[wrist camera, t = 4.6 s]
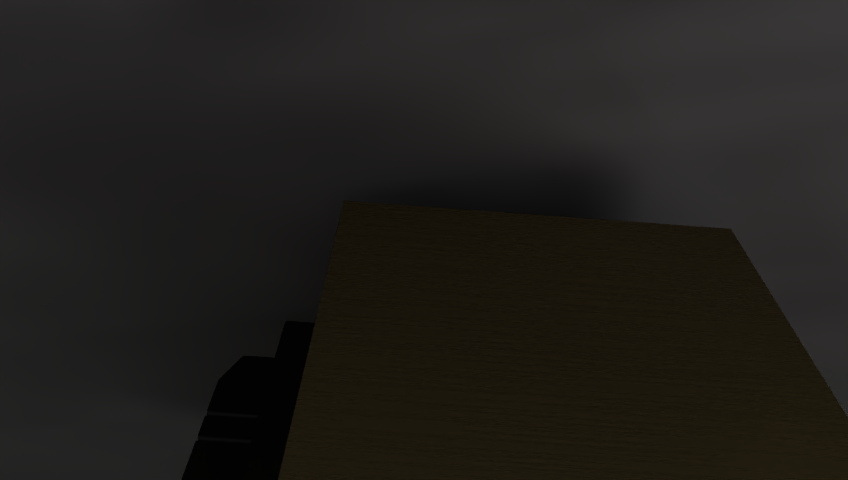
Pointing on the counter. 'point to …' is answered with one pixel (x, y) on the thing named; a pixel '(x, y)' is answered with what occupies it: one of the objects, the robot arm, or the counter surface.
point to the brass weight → (553, 356)
